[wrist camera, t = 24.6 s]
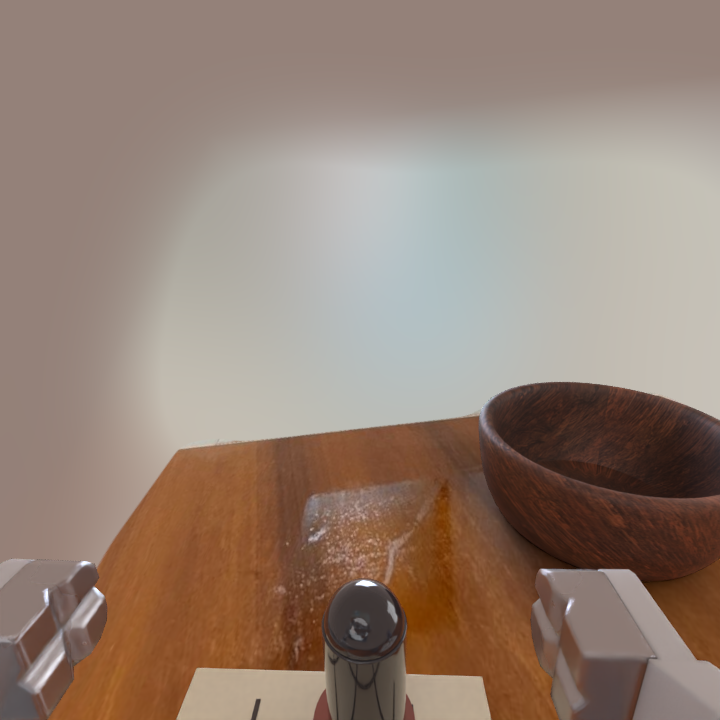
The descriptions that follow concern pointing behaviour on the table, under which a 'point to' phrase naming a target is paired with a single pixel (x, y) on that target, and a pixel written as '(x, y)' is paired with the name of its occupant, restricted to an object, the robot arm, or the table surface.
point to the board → (319, 696)
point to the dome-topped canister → (365, 652)
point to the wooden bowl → (606, 476)
